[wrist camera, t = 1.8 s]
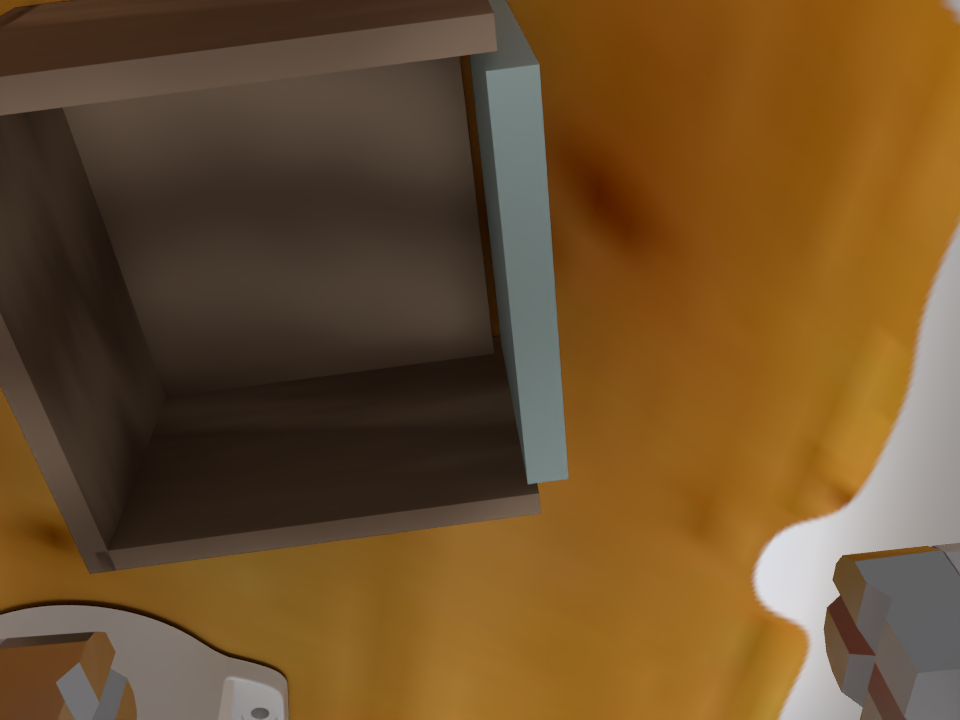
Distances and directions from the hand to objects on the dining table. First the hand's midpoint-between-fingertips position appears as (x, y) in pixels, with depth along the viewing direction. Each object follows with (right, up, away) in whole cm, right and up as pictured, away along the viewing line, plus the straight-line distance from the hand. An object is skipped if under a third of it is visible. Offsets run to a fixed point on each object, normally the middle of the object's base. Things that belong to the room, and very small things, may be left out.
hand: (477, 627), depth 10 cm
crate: (-6, +8, +21) cm, 23 cm away
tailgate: (0, +9, +20) cm, 22 cm away
